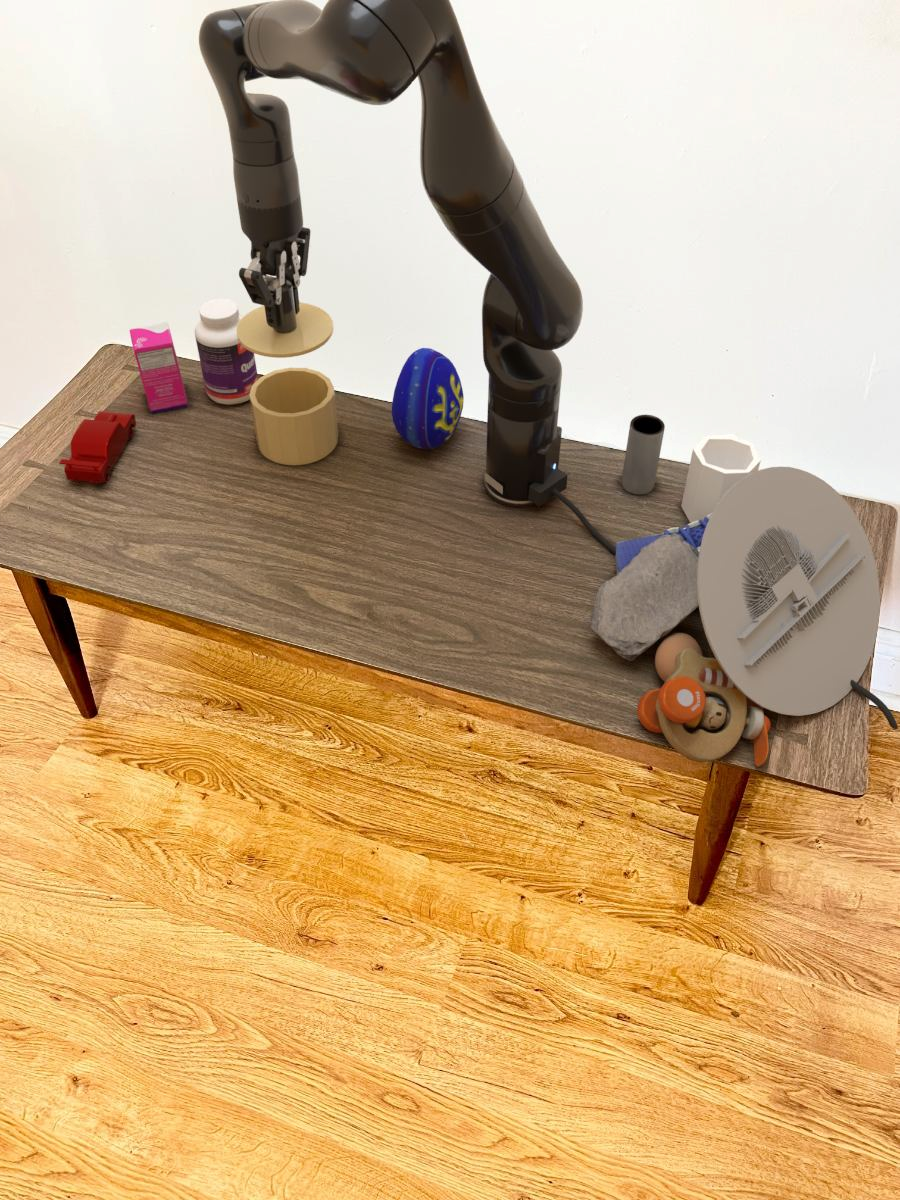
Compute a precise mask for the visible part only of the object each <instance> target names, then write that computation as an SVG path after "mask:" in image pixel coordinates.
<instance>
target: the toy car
mask: <svg viewBox="0 0 900 1200" xmlns="http://www.w3.org/2000/svg"><path fill="white" fill-rule="evenodd" d="M136 426H137V420H136V417H135V414H134V413H128V412H127V413H126V412H125V413H124V412H115V411H103V410H101V411H100V410H98V412H97V413H96V415H95V417H94V418H93V419H87V418H84V419H83V420H82V421H81V423H80V424H79V425H78V427H77V429H76V430H75V432H74V433H73V435H72V438H71V440H70V457H69V458H68V459H67V458H61V460H59V462H58V464H59V465H65V466H64V468H63V471H64V473H65V476H66V477H65V478H66V479H67V480H70V481H71V482H72V483H77V481H78V482H89V483H91V485H96V484H97V483H101V484H103V483H107V482H108V481H109V478H110V470H112V469H113V467H114V465H115V463H116V461H117V460H118V458H119V456H120V454H121V453H122V451H123V450H124V448H125V446H126V444H127V442H128V441H129V440H132V438H133V436H134V428H136Z"/></svg>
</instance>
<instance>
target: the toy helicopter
mask: <svg viewBox="0 0 900 1200" xmlns="http://www.w3.org/2000/svg"><path fill="white" fill-rule="evenodd" d="M636 714H637V718H638V721H639V722H640V723H641V725H642V727H644V728H645V729H646V730H648V731H649V732H652V733H656V734H663V735H664V737H665V739H666V740H667V742H668V743H669V745H670V746H671V747H672V748H673V749H674V750H675V751H676V752H677V753H679V754H680V755H681V756H683V757H684V758H685V759H688V760H690V761H692V762H697V763H706V762H711V761H716V760H719V759H721V758H723V757H724V756H726V755H727V754H728V753H730V751H732V750H733V749H734V748H735V746H737V744H738V742H739V741H740V739H741V737H742V738H743V739H746V740H752V741H753V755H754V765H755V766H756V767H761V766H762V765H763V764H764V763H765V762H766V761H767V758H768V756H769V752H770V751H769V750H770V749H769V747H770V746H769V745H770V744H769V735H768V733H769V731H770V729H771V720H770V718H769V717H768V716H767V715H765V712H764V708H763V707H761V706H760V705H758V704H756V703H755V702H753V701H752V700H751V699H749V698H748V697H747V696H745V695H744V694H743V693H742V692H741V691H740V690H739V689H738V688H737V687H736V686H735V685H734V684H733V683H732V682H731V681H730V679H729V678H728V677H727V675H726V674H725V672H724V671H723V669H722V668H721V666H720V664H719V663H718V661H717V659H716V658H715V657H705V656H704V655H703V656H701V655H700V654H699V653H698V652H696V651H695V650H694V649H691V648H687V649H684V650H683V651H681V652H680V653H678V654H677V656H676V657H675V670H674V672H673V673H672V674H671V675H670V676H669V678H668V679H667V680H666V682H664V683H663V685H662V686H661V687H660V688H654V689H652V690H649V691H648V692H646V693H644V694H643V695H642V696H641V698H639V700H638V703H637V708H636ZM697 726H698V727H699V729H695V728H696V727H697ZM686 729H689V730H692V729H695V730H692V731H691V732H688V731H687V730H686ZM714 730H718V731H717V732H709V731H714Z"/></svg>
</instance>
